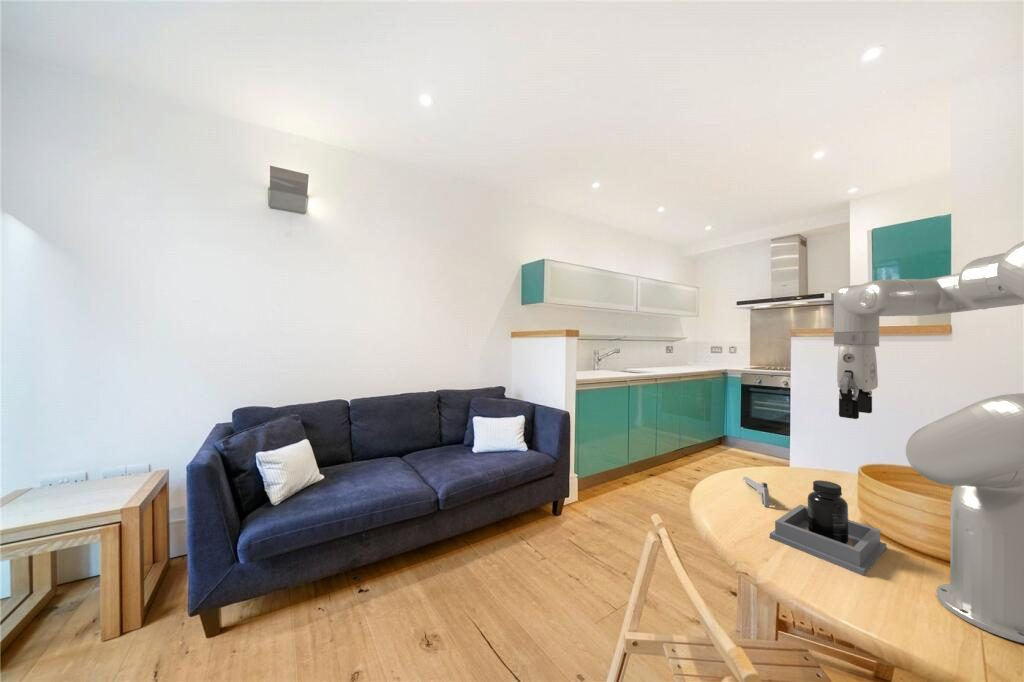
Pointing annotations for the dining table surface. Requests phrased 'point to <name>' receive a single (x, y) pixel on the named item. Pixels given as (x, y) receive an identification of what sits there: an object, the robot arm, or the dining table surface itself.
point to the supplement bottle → (828, 511)
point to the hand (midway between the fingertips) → (855, 414)
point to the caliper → (760, 490)
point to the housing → (831, 541)
